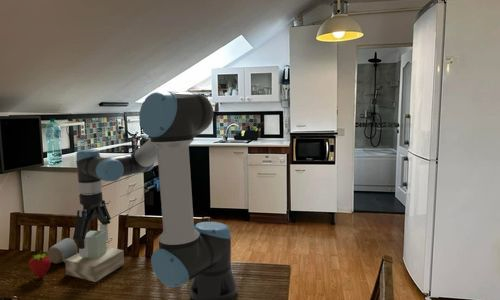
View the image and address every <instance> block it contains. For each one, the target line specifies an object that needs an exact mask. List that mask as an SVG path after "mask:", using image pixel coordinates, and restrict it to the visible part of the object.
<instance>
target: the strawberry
mask: <svg viewBox="0 0 500 300" xmlns="http://www.w3.org/2000/svg"><path fill="white" fill-rule="evenodd" d="M41 252H42V251H40V252H39V253H38V254H36V255H35V254H34V255H33V257H32V258H31V259H30V260H29V262H28V267H29V269H30V271H32V273H33V274H34V275H35V276H37V277H38V278H41V279H43V277H45V275H46V274H47V273H48V271H49V269H50V268H51V263H52V262H51V260H50V258H48V252H47V253H42V254H41Z"/></svg>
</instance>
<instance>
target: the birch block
mask: <svg viewBox="0 0 500 300" xmlns="http://www.w3.org/2000/svg"><path fill="white" fill-rule="evenodd" d="M106 248H107V252H105V253H104V254H103V255H102V256H101V257H99V258H98V259H94V258H82V257H80V255H79V252H77V253H78V254H76V255H74V256H72V257H69V258H67V259H65V262H64V265H65V275H67V276H71V277H75V278H79V279H82V280H87V281H90V282H93V283H96V282H99V281H100V280H101V279H103V278H104V277H106V276H107V275H109V274H111V273H113V272H114V271H116V270H117V269H119V268H121V267H122V266H124V265H125V254H124V253H125V252H124V251H125V250H123V249H120V248H113V247H110V246H109V247H108V246H106Z"/></svg>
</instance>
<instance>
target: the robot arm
mask: <svg viewBox="0 0 500 300" xmlns="http://www.w3.org/2000/svg"><path fill="white" fill-rule="evenodd" d="M138 115H139V117H138V119H139V120H138V121H139V125H140V128H141V129H142V131H143V134H145V135H146V136H148V137H149V139H148V140H147V141H145V143H143V144H142V145H141V146H140V147H138V148H137V149H135V151H133V152H131V153H128V154H122V155H115V156H109V157H102V156H101V155H100V151H99V150H98V149H94V148H93V149H92V148H90V149H80V150H78V151H77V152H76V155H75V156H76V161H75V163H76V170H77V171H76V172H77V179H78V180H77V182H78V192H79V195H78V197H79V204H80V205H81V206H82V209H81V210H79V209H78V210H77V212H76V221H75V227H74V230H73V231H74V232H73V235H72V240H73V241H77V248H78V253H79V255H80V257H87V256H88V248H87V238H85V237H86V234H87V233H88V232H89V231H88V230H89V227H90V224H91V222H93V219H94V218H95V217H96V219H97V220H98V221H99V223H100V224H99V231H105V234H106V242H108V241H109V229H108V228H109V227H108V226H109V225H110V224H111V220H112V218H111V215H110V213H109V211H108V208H107V206H106V201H105V200H104V198H103V192H102V191H103V187H102V186H103V184H102V181H104V182H116V181H118V180H120V179H121V178H122V177H126V176H132V175H136V174H137V175H138V174H143V173H145V172H146V173H147V172H149V171H152V170H153V168H154V165H155V163H156V162H157V165H158V166H157V167H158V177H159V189H160V190H159V191H160V203H161V216H162V217H161V218H162V233H161V234H160V235H159V236H158V248H157V249H155V250H154V251H153V253H152V254H151V259H150V263H151V267H152V270H153V273H154V274H155V276H156V277H157V278H158V280H159V281H160V282H161V283H162V284H163V285H165V287H169V288H178V287H181V286H182V285H185V284H187V283H188V282H189V281H191V282H190V286H189V295H190V298H191V299H192V300H232V299H234V297H235V296H236V294H237V282H236V279H235V276H234V273H233V271H232V258H231V257H232V245H231V244H232V236H231V235H232V233H231V228H230V227H229V226H228V225H227V224H225V223H222V222H218V221H201V222H198V223H196V224H195V223H194V210H193V209H194V208H193V207H194V206H193V194H192V191H193V190H192V180H191V179H192V178H191V176H192V174H191V164H190V149H189V148H190V146H191V144H192V142H193V141H194V139H195V137H197V136H199V135H201V134H202V133H203V132H204V131H206V130H207V129H208V128H209V127H210V125H211V124H212V121H213V120H214V119H213V118H214V108H213V106H212V103H211V101H210V100H209V99H208V98H207V97H206V96H204V95H203V94H201V93H198V92H195V91H190V92H187V91H186V92H185V91H170V90H169V91H166V90H165V91H156V92H153V93H151V94H149V95H147V97H146V98H145V99H144V101H143V102H142V104H141V106H140V109H139V114H138Z"/></svg>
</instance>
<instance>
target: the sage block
mask: <svg viewBox="0 0 500 300" xmlns="http://www.w3.org/2000/svg"><path fill="white" fill-rule="evenodd" d="M85 238H87V248H88V256H87V257H82V258H94V259H98V258H99V257H101V256H102V255H103V254H104V253H105V252H107V248H106V247H107V241H106V234H105V231H100V230H89V231H87V234H86V237H85Z"/></svg>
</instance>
